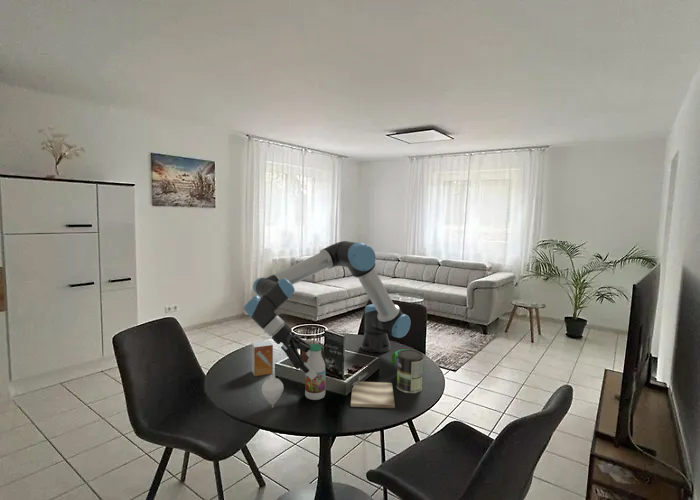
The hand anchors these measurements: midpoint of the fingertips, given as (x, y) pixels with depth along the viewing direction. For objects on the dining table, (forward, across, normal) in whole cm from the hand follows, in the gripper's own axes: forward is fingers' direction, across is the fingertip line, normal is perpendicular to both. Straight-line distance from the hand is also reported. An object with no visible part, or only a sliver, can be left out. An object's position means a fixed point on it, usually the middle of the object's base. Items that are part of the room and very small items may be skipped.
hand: (317, 369), depth 146 cm
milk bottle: (+7, 0, -8) cm, 11 cm away
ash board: (+22, -2, +8) cm, 24 cm away
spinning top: (-3, +10, -18) cm, 21 cm away
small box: (-11, -19, -26) cm, 35 cm away
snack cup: (+33, -21, +18) cm, 43 cm away
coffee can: (+33, -10, +18) cm, 39 cm away
